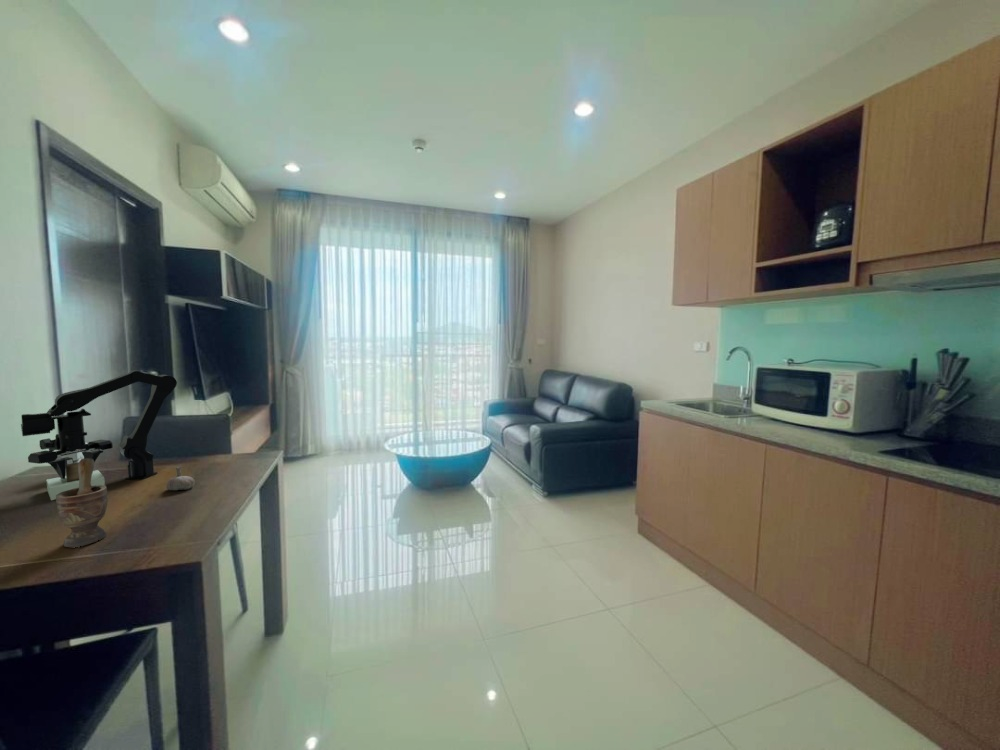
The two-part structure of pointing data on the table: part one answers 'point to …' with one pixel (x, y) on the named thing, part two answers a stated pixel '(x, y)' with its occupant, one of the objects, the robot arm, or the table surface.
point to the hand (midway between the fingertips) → (75, 475)
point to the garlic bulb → (180, 482)
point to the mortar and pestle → (83, 508)
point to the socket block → (70, 484)
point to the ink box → (72, 458)
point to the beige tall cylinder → (72, 472)
